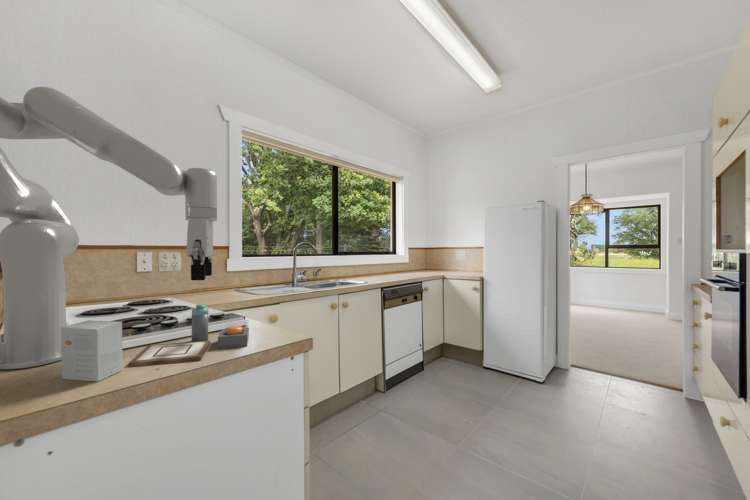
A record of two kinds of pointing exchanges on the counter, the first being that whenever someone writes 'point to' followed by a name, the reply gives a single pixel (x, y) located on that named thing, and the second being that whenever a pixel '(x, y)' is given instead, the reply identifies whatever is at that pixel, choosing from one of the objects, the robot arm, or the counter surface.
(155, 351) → the wooden picture frame
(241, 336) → the button housing
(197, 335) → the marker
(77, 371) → the small box
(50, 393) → the counter surface
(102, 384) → the counter surface
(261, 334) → the counter surface
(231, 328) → the button
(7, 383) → the counter surface
